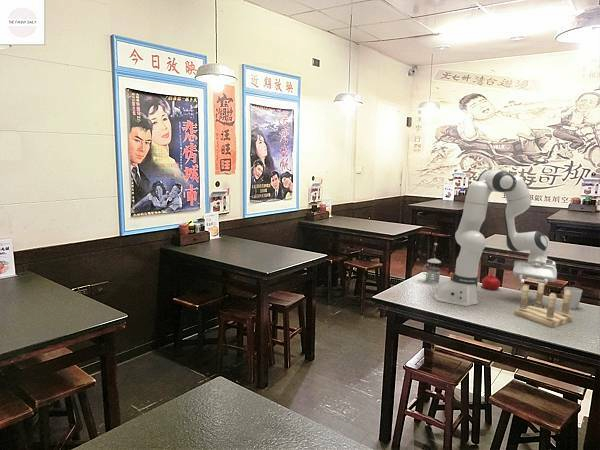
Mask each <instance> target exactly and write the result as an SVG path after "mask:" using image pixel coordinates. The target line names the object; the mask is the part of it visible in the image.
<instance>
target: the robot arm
mask: <svg viewBox="0 0 600 450" xmlns="http://www.w3.org/2000/svg"><path fill="white" fill-rule="evenodd" d="M492 192H496V193H504V196H505V197H504V198H505V199H506V207H504V209H503V219H504V220H503V221H504V228H505V234H506V238H505V239H506V241H505V242H506V246H507V248H508V249H509V250H511V251H512V252H515V253H517V252H523V251H529V254H528V257H527V258H528V259H527V260H521V259H518V260H515V261H514V263H513V269H512V274H513V276H514V277H519V280H520V284H521V285H525V279H523V278H526V279H527V278H528V279H533V280H538V281H539V280H540V281H541V280H542V281H545V285H546V284H548V282H552V283H555V282H557V280H558V279H557V278H558V277H557V276H558V270H557V268H556V267H557V264H556V261H554V260H552V259H549V258H548V255H549V252H550V238H548V236H547V235H544V234H543V233H542V232H540V231H528V232H527V231H526V232H518V231H517V229H516V224H515V218H516V217H517V216H519V215H521V214H523V213H525V212H526V211H527V210H528V209H529V208H530V207H531V204H532V198H531V194H530V191H529V189H528V186H527V184H526V182H525V181H524V179H523V177H521V176H520V175H515V174H514V175H513V174H512V173H511V172H509V171H506V170H502V169H501V170H500V169H490V168H489V169H486V170H482V172H481V173H480V174H479V175H478V177H477V179H476V180H475V181H473V182H471V183H470V184H469V186H468V189H467V192H466V195H465V199H464V205H463V210H462V211H463V212H462V216H461V219H460V222H459V225H458V227H457V229H456V231H455V235H454V239H455V241H456V244H458V245H459V246H460V250H459V254H458V256H457V258H456V262H455V272H449V276H450V279H449V280H448V281H446V282H444V283H442V284H441V285H439V288H438V291H437V292H434V293H433V299H434V300H436V301H437V302H440V303H441V302H442V303H447V304H453V305H457V306H458V305H459V306H464V307H468V306H471V305H478V302H479V301H478V294H477V291H478V289H477V288H478V286H479V285H478V283H479V276H478V275H479V273H478V272H479V265H480V261H481V257H482V255H483V252H484V251H483V250H485V248H486V246H487V239H486V238H485V235H484V234H483V233H481V232H480V230H481V227H482V224H483V223H484V221H485V220H486V215H487V210H488V204H489V197H490V196H491V194H492Z"/></svg>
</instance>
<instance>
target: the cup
mask: <svg viewBox="0 0 600 450" xmlns="http://www.w3.org/2000/svg"><path fill="white" fill-rule="evenodd" d="M567 289H569V290H571V292H572V293H571V300H570V307H569V310H577V308H578V306H579V305H580V301H581V300H582V295H583V289H581V288H577V287H572V286H565V287H563V294H564V293H565V290H567Z"/></svg>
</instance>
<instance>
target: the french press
mask: <svg viewBox="0 0 600 450" xmlns="http://www.w3.org/2000/svg"><path fill="white" fill-rule="evenodd" d="M433 244H434V245H435V246H434V245H433V246H434V250H436V249H437V248H436V247H437V246H438V243H437V242H434V243H433ZM426 262H427V263H426V264H424V265H423V268H422V269H423V271H422V273H423V274H424V275H425V280H424V281H423V283H424V284H425V285H428V286H433V287H434V286H436V287H437V286H441V285H442V284H441V283H440V275H441V270H440V267H438V266H434V265H435V264H442V261H441V260H439V259H437V258H436V255H434V258H430V259H427V261H426ZM430 264H434V265H433V266H431V265H430ZM426 267H427V269H426Z"/></svg>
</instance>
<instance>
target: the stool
mask: <svg viewBox="0 0 600 450" xmlns="http://www.w3.org/2000/svg"><path fill="white" fill-rule="evenodd" d="M529 290H530V287H529V286H528V285H527V284H523V285H522V289H521V297H520V304H519V308H517V309H514V313H513V314H514V316H517V317H520V318H522V319H525V320H528V321H531V322H534V323H535V324H539V325H543V326H545V327H547V328H550V329H551V328H556V327H559V326H562V325H565V324H569V323H572V322H573V319H574V316H572V315H569V314H570V309H569V307H570V300H571V293H572V292H571V290H569V289H567V290H565V293H564V292H563V300H562V307H561V312H560V311H557V310H556V309H555V308H556V302H557V294H556V293H555V292H550V294H549V295H548V303H547V307H546V306H545V304H543V303H542V304H541V305H539V304H535V301H534V302H531V305H527V304H528V298H529V297H528V296H529V292H530V291H529Z"/></svg>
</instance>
